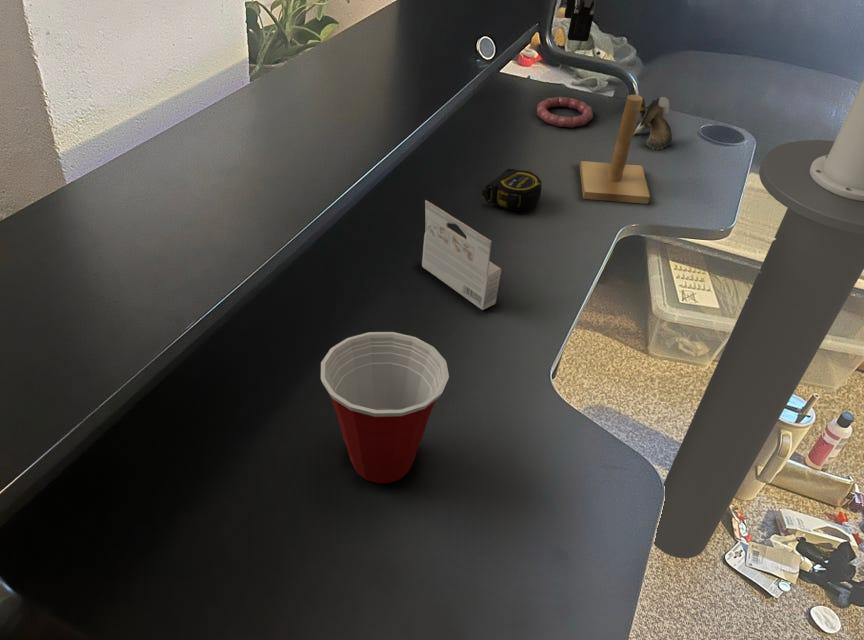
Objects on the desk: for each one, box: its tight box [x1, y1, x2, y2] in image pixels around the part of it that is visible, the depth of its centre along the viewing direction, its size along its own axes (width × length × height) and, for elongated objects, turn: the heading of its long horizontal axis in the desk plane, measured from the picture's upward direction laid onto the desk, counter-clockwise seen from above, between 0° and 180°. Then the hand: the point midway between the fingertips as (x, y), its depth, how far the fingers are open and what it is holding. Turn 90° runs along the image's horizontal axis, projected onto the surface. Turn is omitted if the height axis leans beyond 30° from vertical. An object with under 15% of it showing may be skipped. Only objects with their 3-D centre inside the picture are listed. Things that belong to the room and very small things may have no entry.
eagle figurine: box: [633, 96, 673, 151], centre depth 117 cm, size 8×7×9 cm
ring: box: [536, 96, 594, 129], centre depth 123 cm, size 9×9×2 cm
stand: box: [579, 94, 651, 205], centre depth 103 cm, size 9×9×13 cm
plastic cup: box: [320, 331, 450, 484], centre depth 66 cm, size 11×11×12 cm
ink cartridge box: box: [421, 199, 502, 311], centre depth 86 cm, size 2×11×10 cm, turn 39°
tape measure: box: [481, 168, 543, 211], centre depth 102 cm, size 7×7×4 cm
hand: (575, 28), depth 118 cm, fingers open, 9 cm apart
